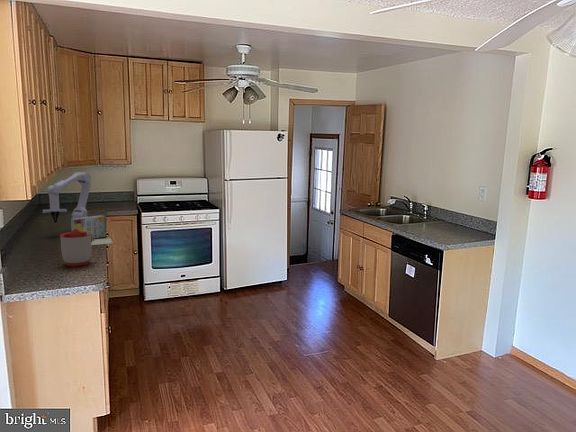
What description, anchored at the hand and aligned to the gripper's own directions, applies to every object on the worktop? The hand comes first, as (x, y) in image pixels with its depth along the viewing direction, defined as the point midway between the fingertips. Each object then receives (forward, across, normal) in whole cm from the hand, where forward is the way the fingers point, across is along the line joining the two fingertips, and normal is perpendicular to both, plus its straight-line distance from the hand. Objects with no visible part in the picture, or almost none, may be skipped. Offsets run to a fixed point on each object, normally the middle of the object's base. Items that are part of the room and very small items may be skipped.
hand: (55, 222), depth 309 cm
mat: (+10, +20, -25) cm, 34 cm away
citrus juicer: (+11, +10, -77) cm, 78 cm away
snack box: (+10, +20, -13) cm, 26 cm away
